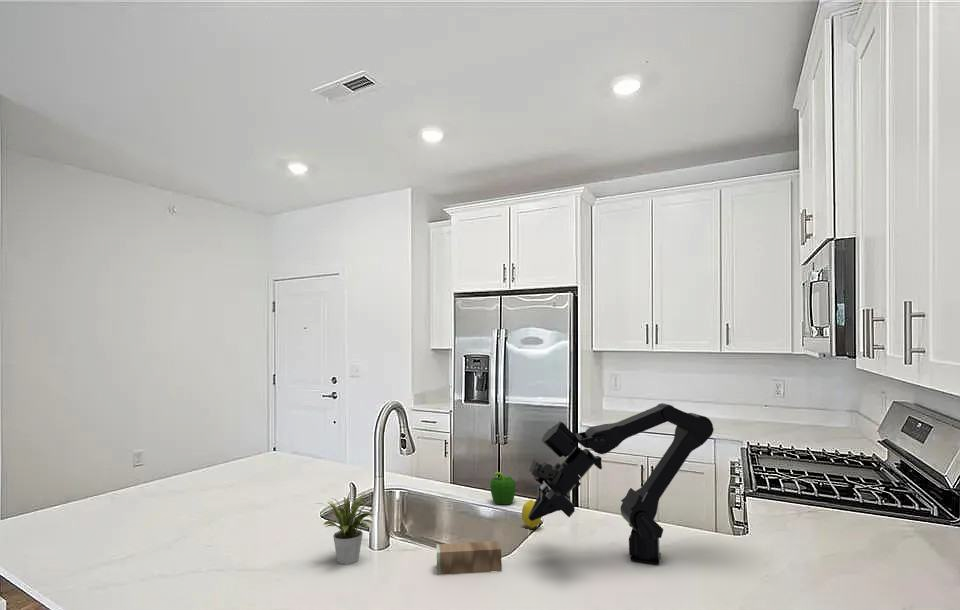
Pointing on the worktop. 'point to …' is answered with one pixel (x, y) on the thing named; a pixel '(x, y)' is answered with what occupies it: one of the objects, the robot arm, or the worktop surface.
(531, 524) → the lemon
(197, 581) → the worktop surface
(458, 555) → the walnut block
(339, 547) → the house plant
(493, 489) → the bell pepper
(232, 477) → the worktop surface
